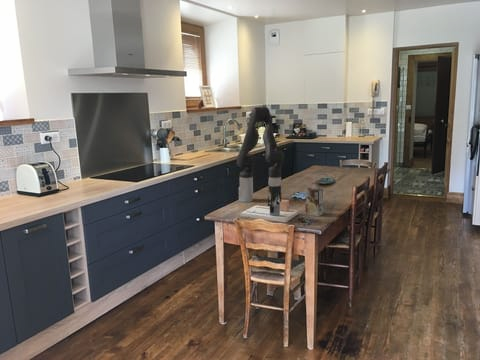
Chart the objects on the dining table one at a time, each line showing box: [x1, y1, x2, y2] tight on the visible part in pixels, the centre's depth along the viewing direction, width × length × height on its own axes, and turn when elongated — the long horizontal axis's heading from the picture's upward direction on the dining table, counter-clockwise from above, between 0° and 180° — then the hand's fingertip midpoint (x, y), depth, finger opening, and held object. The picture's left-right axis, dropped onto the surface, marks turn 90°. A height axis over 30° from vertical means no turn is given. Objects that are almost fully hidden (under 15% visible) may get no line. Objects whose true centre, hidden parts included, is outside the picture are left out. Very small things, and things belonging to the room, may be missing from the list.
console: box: [240, 205, 300, 223], centre depth 255 cm, size 30×20×2 cm
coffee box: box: [305, 187, 324, 217], centre depth 253 cm, size 9×6×16 cm
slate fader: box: [270, 203, 280, 216], centre depth 246 cm, size 5×4×6 cm
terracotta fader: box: [280, 199, 290, 211], centre depth 256 cm, size 5×4×6 cm
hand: (274, 210), depth 246 cm, fingers open, 8 cm apart
